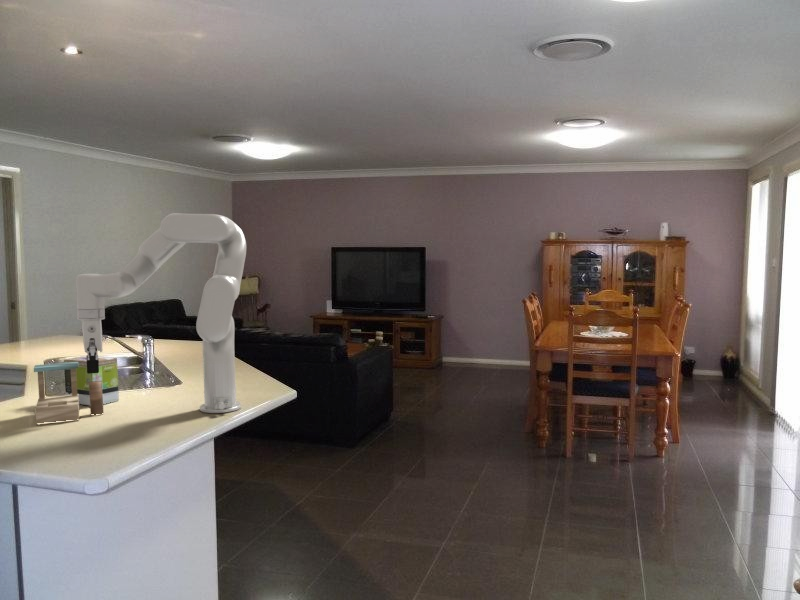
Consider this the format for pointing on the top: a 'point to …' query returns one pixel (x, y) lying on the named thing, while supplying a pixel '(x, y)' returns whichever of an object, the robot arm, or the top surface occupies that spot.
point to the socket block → (57, 405)
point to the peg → (96, 397)
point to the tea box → (94, 379)
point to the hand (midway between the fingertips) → (92, 370)
